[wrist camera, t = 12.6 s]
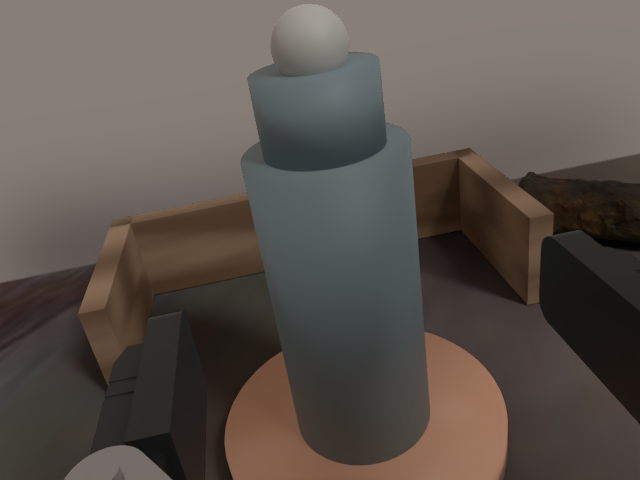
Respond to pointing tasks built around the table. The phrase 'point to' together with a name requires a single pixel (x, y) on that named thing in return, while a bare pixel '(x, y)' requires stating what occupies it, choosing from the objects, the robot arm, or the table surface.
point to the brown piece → (589, 206)
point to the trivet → (390, 476)
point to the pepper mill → (338, 242)
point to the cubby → (244, 254)
